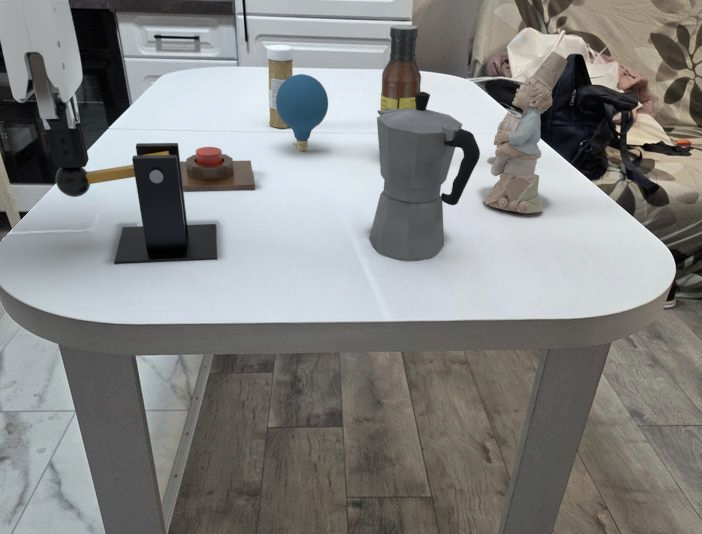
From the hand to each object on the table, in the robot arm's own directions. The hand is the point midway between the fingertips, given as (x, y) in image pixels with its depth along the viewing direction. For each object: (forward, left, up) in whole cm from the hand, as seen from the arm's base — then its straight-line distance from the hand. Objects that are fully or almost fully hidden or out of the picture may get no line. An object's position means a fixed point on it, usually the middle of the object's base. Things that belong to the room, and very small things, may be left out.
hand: (72, 164), depth 65 cm
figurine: (+56, +10, -11) cm, 58 cm away
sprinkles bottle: (+27, +50, -11) cm, 58 cm away
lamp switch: (+9, 0, -10) cm, 14 cm away
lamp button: (+14, +21, -7) cm, 26 cm away
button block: (+14, +21, -10) cm, 27 cm away
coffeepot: (+38, -2, -11) cm, 39 cm away
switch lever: (+4, 0, -3) cm, 5 cm away
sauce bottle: (+44, +30, -11) cm, 54 cm away
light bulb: (+29, +35, -11) cm, 46 cm away
